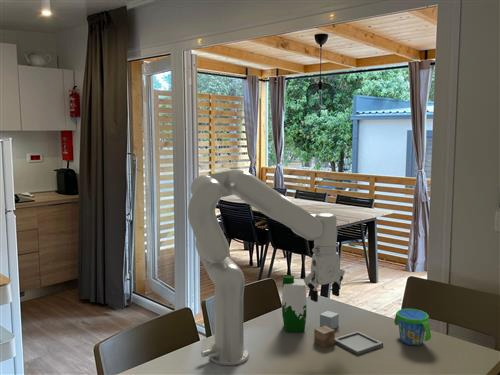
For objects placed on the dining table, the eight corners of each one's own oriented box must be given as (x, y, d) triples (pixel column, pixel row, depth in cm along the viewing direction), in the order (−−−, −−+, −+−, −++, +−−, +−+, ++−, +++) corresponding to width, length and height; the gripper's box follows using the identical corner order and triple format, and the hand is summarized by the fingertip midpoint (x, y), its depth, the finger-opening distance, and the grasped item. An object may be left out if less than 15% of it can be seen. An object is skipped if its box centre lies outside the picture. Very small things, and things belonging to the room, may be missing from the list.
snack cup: (439, 349, 163) (440, 320, 162) (412, 353, 160) (413, 324, 159) (410, 331, 178) (411, 304, 177) (385, 335, 175) (386, 307, 174)
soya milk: (281, 323, 186) (281, 273, 184) (305, 323, 186) (305, 273, 184) (282, 333, 177) (282, 280, 175) (307, 333, 177) (307, 280, 175)
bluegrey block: (331, 330, 179) (331, 317, 179) (319, 327, 183) (319, 314, 182) (338, 326, 183) (338, 313, 182) (327, 323, 186) (327, 310, 186)
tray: (357, 355, 159) (357, 351, 159) (332, 341, 169) (332, 338, 169) (383, 346, 166) (383, 342, 165) (357, 334, 176) (357, 330, 176)
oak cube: (323, 347, 165) (323, 333, 165) (314, 342, 169) (314, 328, 169) (334, 344, 168) (334, 330, 167) (325, 339, 172) (325, 325, 172)
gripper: (312, 255, 157) (312, 306, 159) (351, 248, 166) (351, 296, 168) (298, 251, 164) (298, 299, 165) (336, 244, 173) (336, 290, 175)
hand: (324, 298), depth 167 cm, fingers open, 9 cm apart
